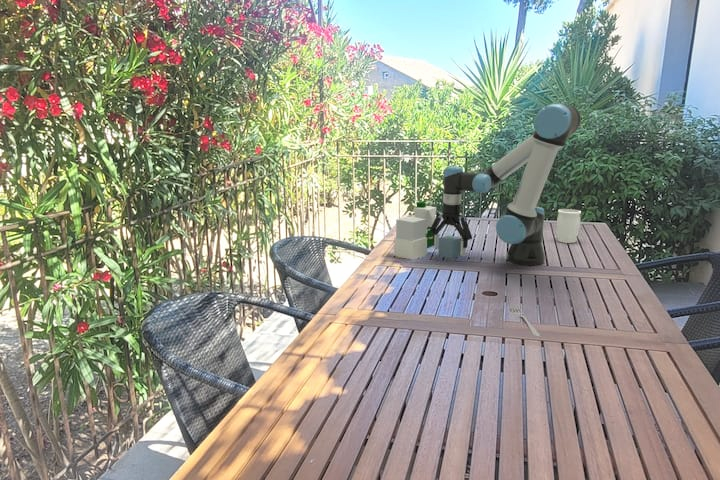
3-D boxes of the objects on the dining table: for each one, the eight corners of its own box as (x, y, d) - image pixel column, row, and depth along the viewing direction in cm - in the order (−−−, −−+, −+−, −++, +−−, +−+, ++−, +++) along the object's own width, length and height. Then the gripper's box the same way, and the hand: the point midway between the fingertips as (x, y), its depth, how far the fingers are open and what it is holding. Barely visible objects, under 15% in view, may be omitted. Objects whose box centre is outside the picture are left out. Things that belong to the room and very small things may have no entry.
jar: (581, 244, 240) (585, 212, 236) (559, 244, 240) (562, 212, 237) (573, 238, 250) (576, 208, 247) (551, 238, 251) (554, 208, 247)
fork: (536, 341, 139) (536, 335, 139) (508, 308, 162) (508, 303, 162) (547, 341, 139) (548, 335, 139) (518, 308, 163) (518, 303, 162)
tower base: (426, 255, 222) (427, 237, 220) (412, 260, 215) (412, 241, 213) (408, 251, 229) (409, 233, 227) (394, 255, 222) (394, 237, 220)
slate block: (461, 255, 221) (461, 237, 219) (451, 259, 216) (452, 240, 214) (447, 252, 226) (448, 235, 224) (438, 256, 221) (438, 238, 219)
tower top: (425, 237, 220) (426, 219, 219) (412, 241, 214) (412, 222, 212) (409, 234, 227) (409, 216, 225) (396, 237, 220) (396, 219, 218)
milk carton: (420, 242, 245) (421, 200, 240) (437, 244, 240) (438, 202, 235) (411, 245, 238) (412, 203, 233) (428, 248, 233) (429, 205, 228)
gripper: (422, 200, 221) (421, 248, 227) (472, 208, 205) (469, 259, 210) (433, 198, 227) (431, 245, 232) (482, 206, 210) (479, 255, 215)
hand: (449, 251), depth 221 cm, fingers open, 13 cm apart
